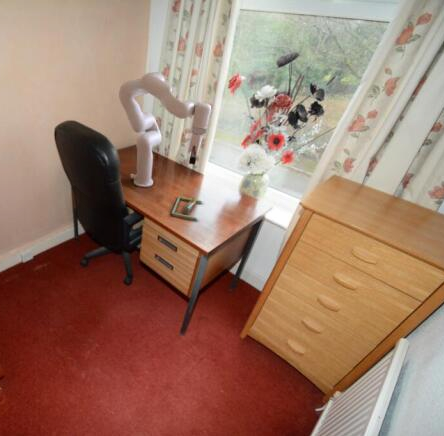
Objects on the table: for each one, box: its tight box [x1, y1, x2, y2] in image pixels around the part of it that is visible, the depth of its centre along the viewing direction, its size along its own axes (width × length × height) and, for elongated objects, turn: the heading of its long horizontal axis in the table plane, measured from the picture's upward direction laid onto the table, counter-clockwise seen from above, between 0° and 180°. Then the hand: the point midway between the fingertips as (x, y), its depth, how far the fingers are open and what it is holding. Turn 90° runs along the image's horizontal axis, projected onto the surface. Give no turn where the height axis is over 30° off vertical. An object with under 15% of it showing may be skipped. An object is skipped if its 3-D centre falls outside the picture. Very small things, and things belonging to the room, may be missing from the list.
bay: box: [170, 196, 203, 222], centre depth 151 cm, size 14×19×2 cm
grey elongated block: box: [182, 197, 198, 216], centre depth 150 cm, size 12×3×4 cm, turn 148°
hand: (191, 163), depth 147 cm, fingers closed
